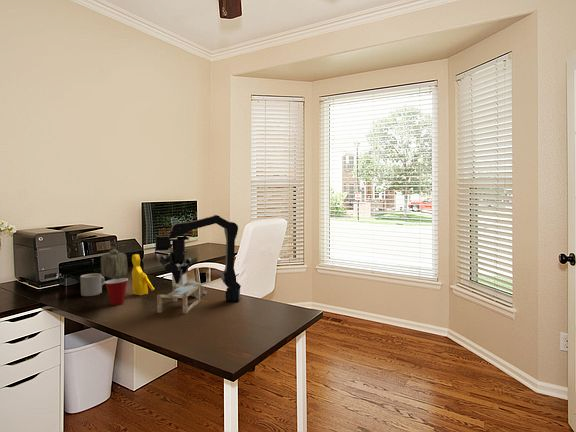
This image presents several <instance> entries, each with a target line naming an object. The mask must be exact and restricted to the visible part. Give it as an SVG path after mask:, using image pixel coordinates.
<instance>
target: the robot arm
mask: <svg viewBox="0 0 576 432" xmlns="http://www.w3.org/2000/svg"><path fill="white" fill-rule="evenodd" d="M216 224H217V225H218V226H219V227H221V228H223V229H224V230H223V231H224V235H225V236H224V237H225V240H226V241H225V244H226V245H225V267H224V269H223V270H221V272H220V273H221V278H220V279H221V281H222V282H223V284H224V285H225V286H226V291H225V302H226V303H239V302H240V301H241V299H242V297H241V287H242V285H241V284H240V283H239V282H237V278H236V277H237V276H236V271H235V250H236V249H235V248H236V247H235V244H236V243H235V242H236V238H237V235H238V230H239V226H238V224H237V223H236V222H233V221H229V220H226V219H225V218H222V217H221V216H220V215H217V214H214V215H212V216H209V217H207V216H206V217H204V218H201V219H195V220H192V221H182V222H175V223H173V224H172V226H171V228H170V229H171V230H170V232H169V233H168V235H164V236H163V235H162V236H160V235H156V236H155V242H154V243H155V251H156V252H161V251H163V252H164V251H169V250H170V249H172V250H171V252H170V254H169V255H168V256H166V255H163V256H160V258H159V263H160V264H161V265H162V266H164V272H170V273H171V274H172V275H173V276H174V279H175V282H176V284H178V283H179V280H180V277H181V273H187V272H188V270H189V268H190V265H192V264H193V259H192V258H191V257H186V254H187V250H186V241H189V240H190V238H189V237H188V236H187V235H186V234H187V233H189V232H191V231H193V230H196V229H200V228H204V227H207V226H212V225H216Z"/></svg>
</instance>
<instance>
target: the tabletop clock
mask: <svg viewBox="0 0 576 432" xmlns="http://www.w3.org/2000/svg"><path fill="white" fill-rule="evenodd" d="M111 244H114V245H115V246H112V245H111ZM109 247H110V248H111V249H110V250H109V251H108V253H105V254H103V255H102V256H100V274H101V276H103V277H106V278H109V279H110V280H113V279H117V278H118V279H121V278H122V277H125V276H127V275H128V258H127V255H126V254H125V253H123V252H119V251H118V249H117V247H118V245H117V243H116V242H115V241H112V242H110V243H109Z"/></svg>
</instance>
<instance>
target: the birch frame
mask: <svg viewBox="0 0 576 432" xmlns="http://www.w3.org/2000/svg"><path fill="white" fill-rule="evenodd" d="M179 287H180V286H172V291H174V290H176V289H177V288H179ZM183 287H195V288H194V289H192V290H191V291H189V292H188V293H187V294H185V295H168V294H162V293H161V294H160V293H158V294H157V295H156V302H157V303H156V305H157V308H156V310H157V313H158V314H159V313H160V314H162V312H163V298H169V299H171V298H172V303H175V302H178V299H182V314H188V312H190V311H191V310H192V309H193V308H194V307H195V306H196V305H197V304H198V303H200V302H201V296H200V286H186V284H184V285H183ZM194 291H196V297H195V301H194V302H193V303H191V304H190V305H188V297H190V294H192V293H193V292H194Z"/></svg>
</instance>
